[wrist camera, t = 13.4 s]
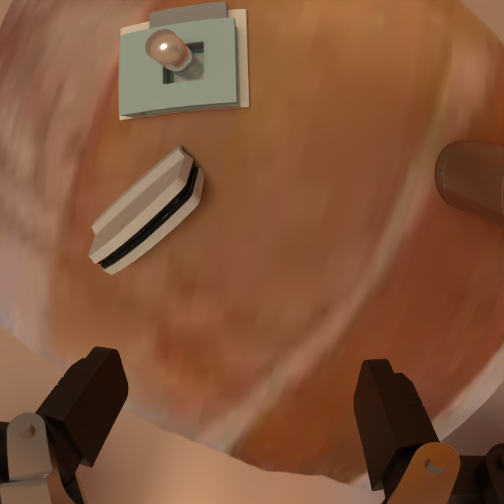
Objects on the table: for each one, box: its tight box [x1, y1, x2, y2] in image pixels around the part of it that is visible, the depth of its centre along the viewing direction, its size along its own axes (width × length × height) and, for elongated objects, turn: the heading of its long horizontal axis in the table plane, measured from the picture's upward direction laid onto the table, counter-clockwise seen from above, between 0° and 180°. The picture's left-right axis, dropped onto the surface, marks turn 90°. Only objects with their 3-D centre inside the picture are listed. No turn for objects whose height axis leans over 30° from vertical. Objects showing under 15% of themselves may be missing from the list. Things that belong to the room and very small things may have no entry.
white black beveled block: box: [89, 144, 205, 275], centre depth 35 cm, size 17×5×10 cm, turn 126°
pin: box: [145, 29, 204, 81], centre depth 27 cm, size 3×3×11 cm
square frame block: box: [119, 1, 249, 120], centre depth 30 cm, size 16×13×5 cm
